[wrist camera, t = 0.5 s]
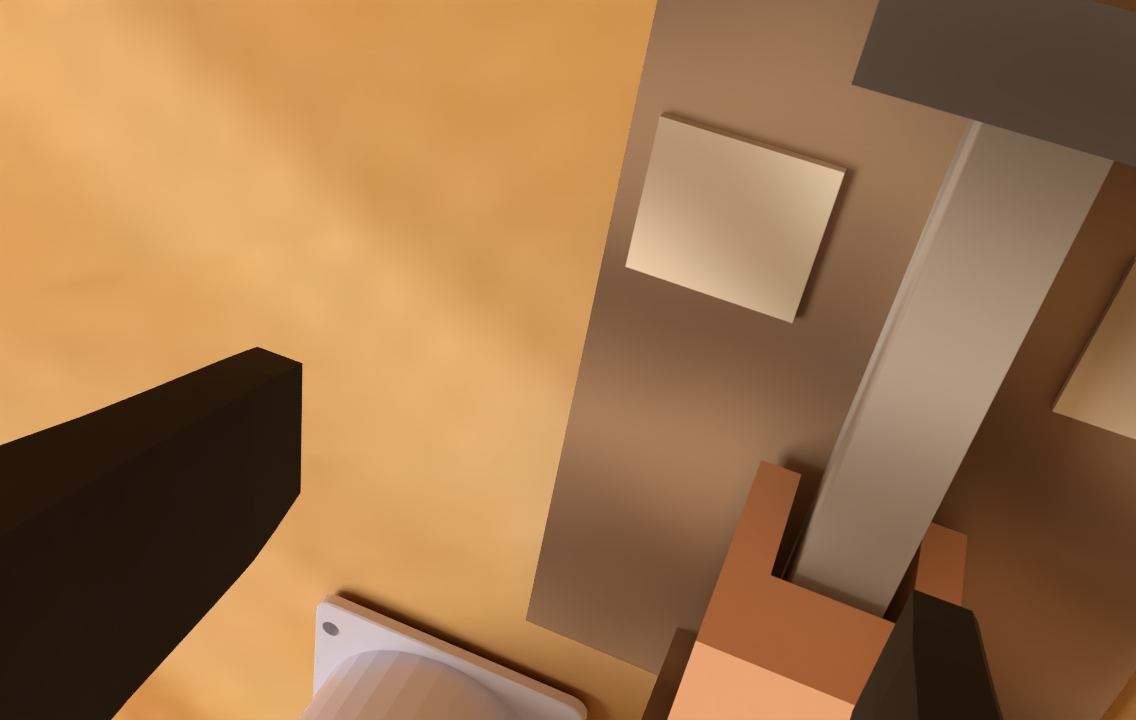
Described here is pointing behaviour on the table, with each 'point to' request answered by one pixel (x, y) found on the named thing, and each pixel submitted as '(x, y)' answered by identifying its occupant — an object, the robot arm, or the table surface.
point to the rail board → (867, 331)
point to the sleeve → (794, 623)
